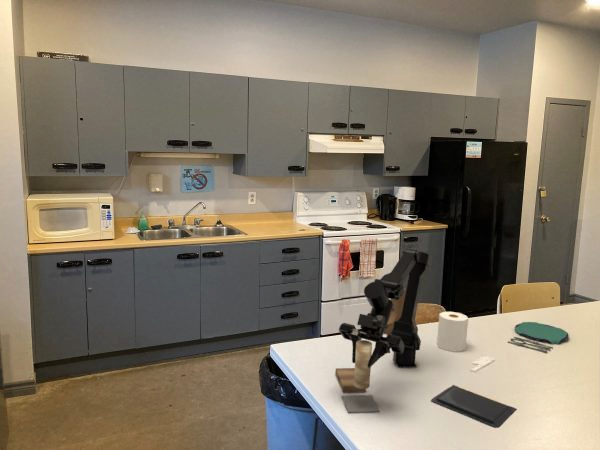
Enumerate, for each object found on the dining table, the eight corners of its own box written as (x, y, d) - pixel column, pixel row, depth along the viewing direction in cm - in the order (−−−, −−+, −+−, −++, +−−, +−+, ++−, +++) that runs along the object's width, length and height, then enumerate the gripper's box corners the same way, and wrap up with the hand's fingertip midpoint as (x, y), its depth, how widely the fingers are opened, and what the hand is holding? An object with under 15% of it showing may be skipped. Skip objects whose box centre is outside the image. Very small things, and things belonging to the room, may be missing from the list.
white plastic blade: (460, 368, 165) (461, 365, 165) (481, 357, 175) (482, 354, 175) (474, 373, 161) (475, 370, 161) (495, 361, 172) (495, 358, 172)
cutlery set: (574, 335, 200) (574, 330, 199) (551, 357, 178) (552, 351, 178) (524, 323, 213) (524, 318, 213) (497, 342, 191) (498, 336, 191)
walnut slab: (335, 374, 156) (335, 368, 156) (356, 373, 157) (356, 368, 157) (343, 392, 144) (343, 386, 144) (365, 392, 145) (366, 385, 145)
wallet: (429, 396, 141) (454, 380, 152) (428, 402, 142) (453, 386, 152) (496, 425, 127) (519, 405, 138) (496, 432, 128) (518, 412, 138)
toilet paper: (462, 354, 176) (465, 322, 174) (433, 347, 181) (436, 316, 179) (467, 345, 185) (470, 314, 183) (440, 339, 190) (442, 309, 188)
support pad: (371, 396, 143) (371, 394, 143) (379, 412, 134) (380, 410, 134) (341, 396, 142) (341, 395, 142) (348, 413, 133) (348, 411, 133)
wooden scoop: (386, 334, 192) (389, 291, 190) (379, 331, 196) (382, 288, 193) (404, 331, 197) (407, 288, 194) (396, 327, 200) (399, 285, 198)
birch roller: (370, 382, 139) (372, 341, 137) (368, 389, 135) (371, 347, 133) (354, 380, 140) (357, 339, 138) (353, 387, 135) (355, 345, 134)
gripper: (343, 296, 142) (322, 343, 134) (403, 309, 132) (385, 361, 124) (353, 314, 150) (334, 360, 142) (411, 328, 140) (394, 378, 132)
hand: (360, 364), depth 135 cm, fingers closed on birch roller, 4 cm apart
